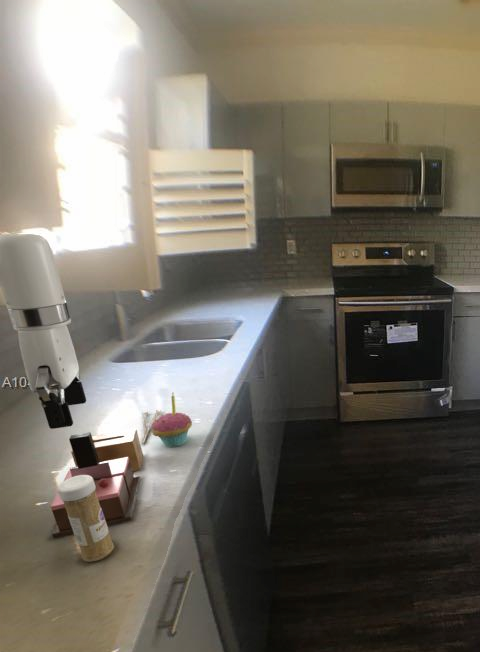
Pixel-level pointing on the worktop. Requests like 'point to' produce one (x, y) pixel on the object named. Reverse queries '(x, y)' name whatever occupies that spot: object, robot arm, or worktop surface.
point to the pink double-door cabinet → (105, 497)
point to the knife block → (118, 447)
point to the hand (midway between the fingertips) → (69, 414)
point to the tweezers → (150, 423)
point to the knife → (88, 458)
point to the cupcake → (172, 427)
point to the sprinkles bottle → (86, 517)
